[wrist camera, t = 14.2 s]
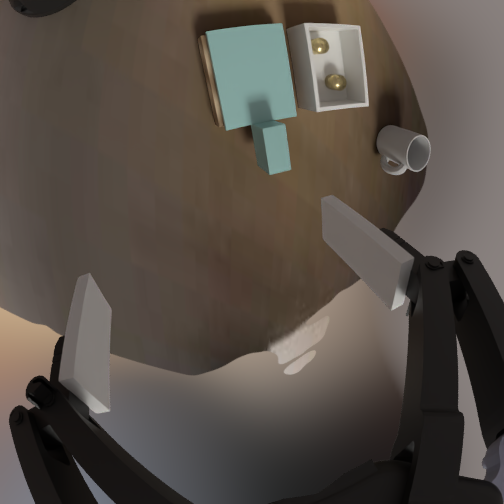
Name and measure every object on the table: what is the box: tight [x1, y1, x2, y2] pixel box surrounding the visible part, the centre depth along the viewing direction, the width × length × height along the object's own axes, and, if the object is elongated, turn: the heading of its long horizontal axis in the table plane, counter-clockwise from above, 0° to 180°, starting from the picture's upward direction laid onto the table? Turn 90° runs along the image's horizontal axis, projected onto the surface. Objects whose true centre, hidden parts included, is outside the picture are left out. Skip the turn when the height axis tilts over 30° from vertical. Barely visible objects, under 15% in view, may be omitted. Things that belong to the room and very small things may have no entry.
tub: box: [286, 23, 369, 112], centre depth 38 cm, size 14×10×6 cm
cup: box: [377, 125, 431, 175], centre depth 49 cm, size 7×10×9 cm
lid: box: [205, 23, 297, 175], centre depth 35 cm, size 21×11×6 cm, turn 11°
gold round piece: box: [325, 74, 347, 91], centre depth 41 cm, size 3×3×2 cm
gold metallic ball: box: [311, 38, 329, 54], centre depth 36 cm, size 3×3×2 cm
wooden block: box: [198, 35, 224, 127], centre depth 37 cm, size 14×12×3 cm
